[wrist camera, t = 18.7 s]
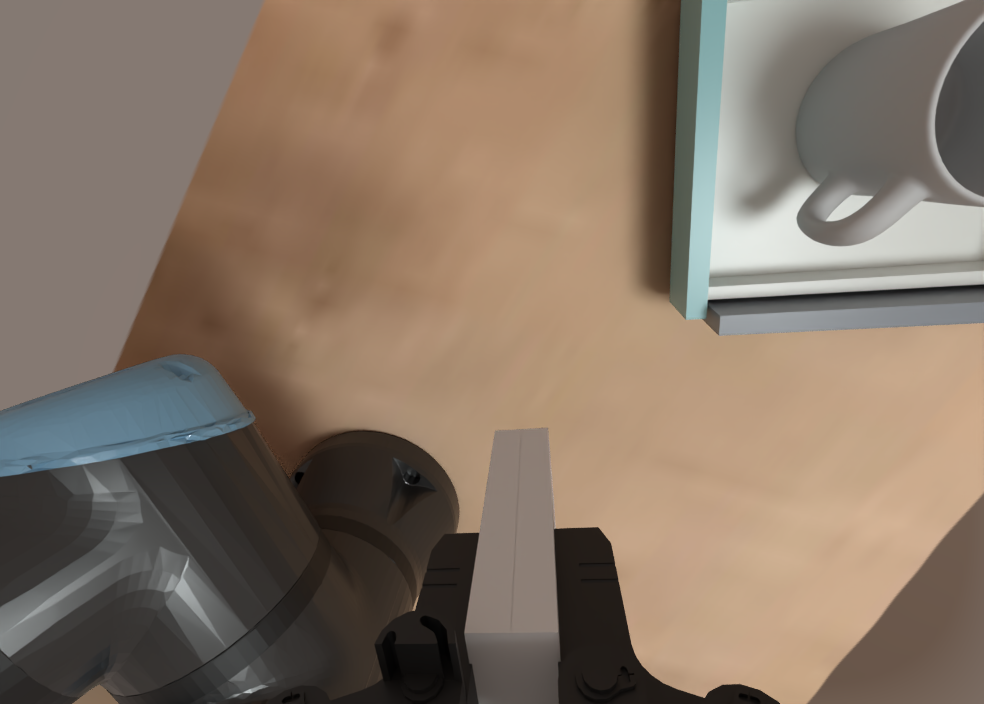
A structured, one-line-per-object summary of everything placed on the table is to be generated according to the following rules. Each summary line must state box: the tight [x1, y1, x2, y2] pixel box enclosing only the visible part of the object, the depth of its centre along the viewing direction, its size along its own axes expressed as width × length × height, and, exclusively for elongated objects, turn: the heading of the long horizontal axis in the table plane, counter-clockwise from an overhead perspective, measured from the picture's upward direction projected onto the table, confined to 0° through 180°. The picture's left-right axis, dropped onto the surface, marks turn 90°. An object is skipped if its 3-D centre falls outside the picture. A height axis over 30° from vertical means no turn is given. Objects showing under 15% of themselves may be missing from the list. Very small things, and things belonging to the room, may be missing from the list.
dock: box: [703, 284, 984, 336], centre depth 28 cm, size 20×20×7 cm
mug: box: [796, 0, 984, 247], centre depth 24 cm, size 12×8×11 cm
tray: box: [670, 0, 984, 320], centre depth 28 cm, size 20×19×4 cm
